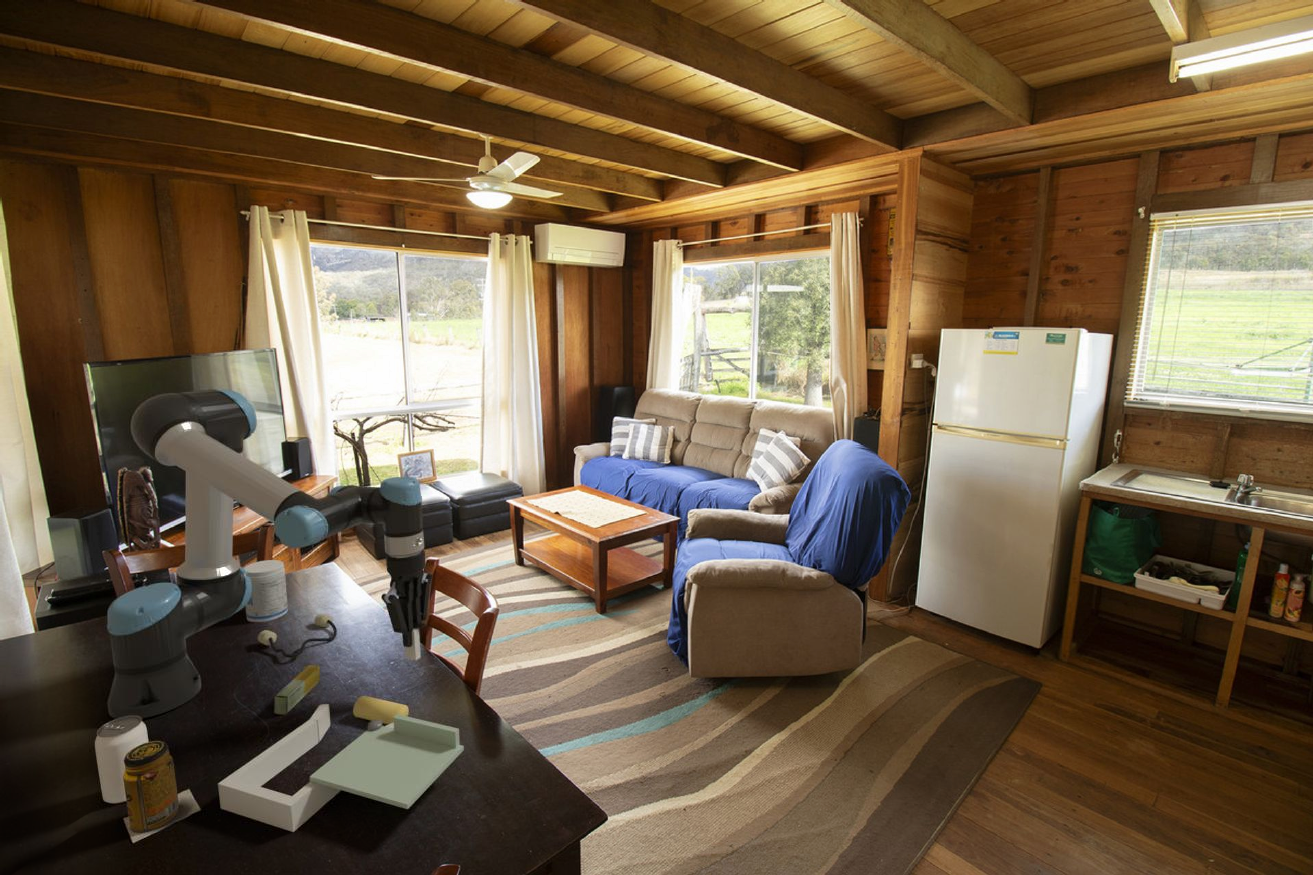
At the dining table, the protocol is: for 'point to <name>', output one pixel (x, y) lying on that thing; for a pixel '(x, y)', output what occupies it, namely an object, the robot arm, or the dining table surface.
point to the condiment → (153, 791)
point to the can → (117, 753)
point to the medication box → (296, 689)
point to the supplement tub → (266, 591)
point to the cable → (320, 620)
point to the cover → (393, 760)
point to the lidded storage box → (245, 783)
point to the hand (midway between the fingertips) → (413, 657)
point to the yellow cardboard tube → (378, 709)
